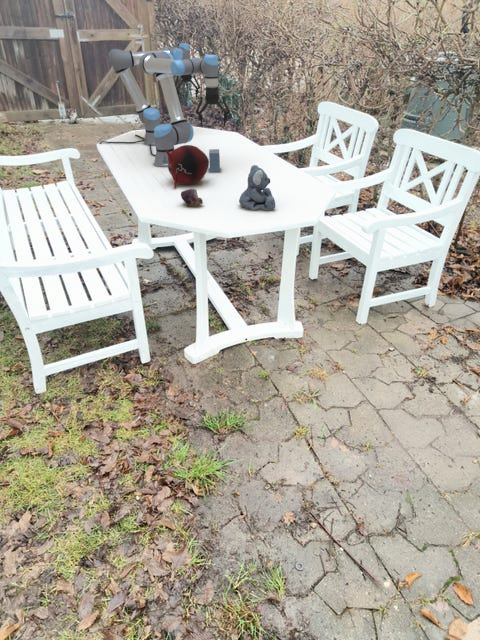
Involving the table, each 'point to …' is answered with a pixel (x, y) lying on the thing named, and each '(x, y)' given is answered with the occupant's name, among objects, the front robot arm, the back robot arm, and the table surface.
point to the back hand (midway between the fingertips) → (187, 99)
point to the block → (214, 160)
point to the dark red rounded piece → (187, 164)
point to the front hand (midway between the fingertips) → (213, 126)
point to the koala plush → (257, 191)
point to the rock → (191, 197)
